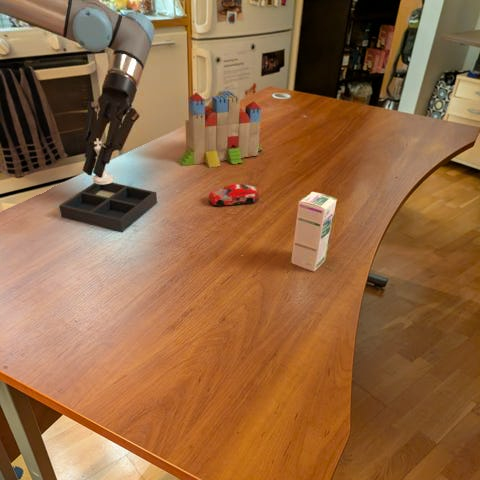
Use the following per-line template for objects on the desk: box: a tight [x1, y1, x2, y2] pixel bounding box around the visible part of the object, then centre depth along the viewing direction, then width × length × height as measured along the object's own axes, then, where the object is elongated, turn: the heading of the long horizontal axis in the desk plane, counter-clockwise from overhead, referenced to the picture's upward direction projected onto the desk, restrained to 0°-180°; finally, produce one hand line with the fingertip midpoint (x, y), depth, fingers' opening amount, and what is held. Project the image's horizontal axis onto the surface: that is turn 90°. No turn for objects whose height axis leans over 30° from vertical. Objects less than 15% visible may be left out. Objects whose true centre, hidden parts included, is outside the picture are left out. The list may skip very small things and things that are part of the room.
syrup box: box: [290, 191, 337, 273], centre depth 94 cm, size 6×6×14 cm
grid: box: [58, 182, 158, 233], centre depth 111 cm, size 16×16×3 cm
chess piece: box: [92, 139, 115, 185], centre depth 109 cm, size 5×5×10 cm
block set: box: [178, 90, 264, 168], centre depth 136 cm, size 28×14×19 cm, turn 115°
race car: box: [207, 183, 260, 208], centre depth 118 cm, size 13×5×4 cm, turn 106°
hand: (92, 173), depth 108 cm, fingers closed on chess piece, 2 cm apart
